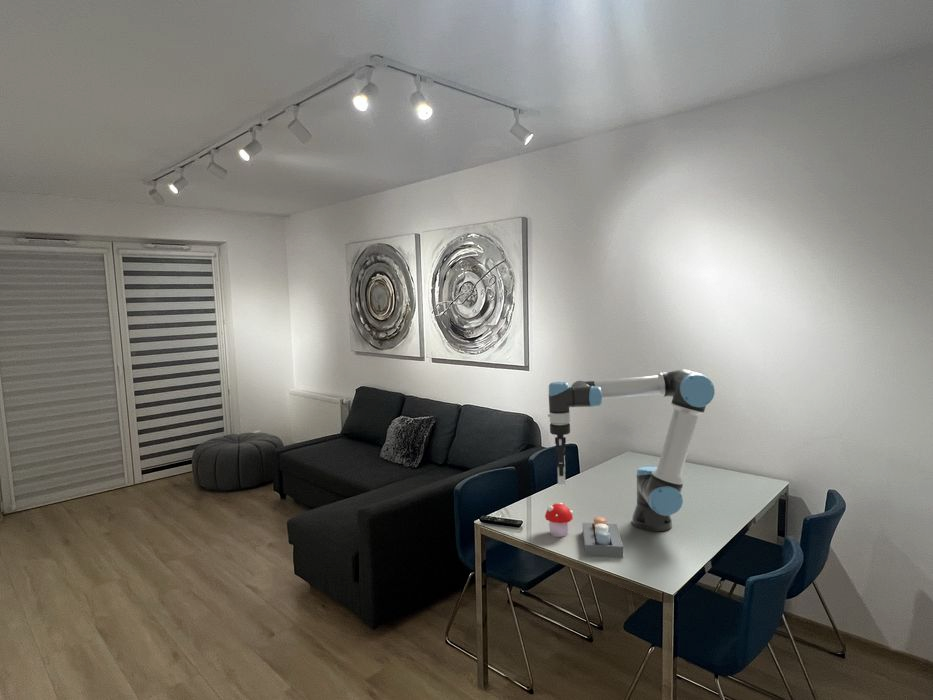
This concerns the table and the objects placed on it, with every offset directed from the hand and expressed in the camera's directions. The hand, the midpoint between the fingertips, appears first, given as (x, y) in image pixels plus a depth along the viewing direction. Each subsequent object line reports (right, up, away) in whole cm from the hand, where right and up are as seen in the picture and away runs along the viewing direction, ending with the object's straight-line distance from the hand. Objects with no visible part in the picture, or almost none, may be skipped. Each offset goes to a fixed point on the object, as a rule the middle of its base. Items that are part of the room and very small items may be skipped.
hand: (561, 477), depth 204 cm
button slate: (+13, -22, -11) cm, 28 cm away
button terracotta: (+15, -21, +2) cm, 26 cm away
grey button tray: (+14, -24, -5) cm, 28 cm away
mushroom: (0, -23, +6) cm, 24 cm away
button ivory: (+14, -21, -5) cm, 26 cm away
